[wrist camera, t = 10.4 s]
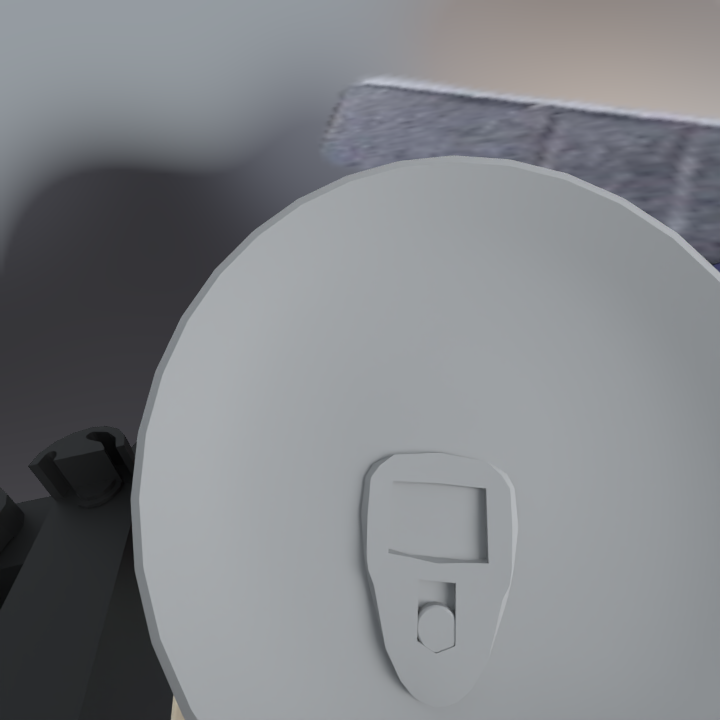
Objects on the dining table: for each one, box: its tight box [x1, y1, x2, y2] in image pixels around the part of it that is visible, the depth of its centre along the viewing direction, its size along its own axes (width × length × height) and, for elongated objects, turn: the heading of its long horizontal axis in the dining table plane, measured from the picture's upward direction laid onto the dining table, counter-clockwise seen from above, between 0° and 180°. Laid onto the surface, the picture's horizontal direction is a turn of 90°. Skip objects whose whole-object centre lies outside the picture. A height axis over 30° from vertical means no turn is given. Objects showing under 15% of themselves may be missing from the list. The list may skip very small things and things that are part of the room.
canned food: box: [131, 156, 720, 720], centre depth 9 cm, size 8×8×11 cm
